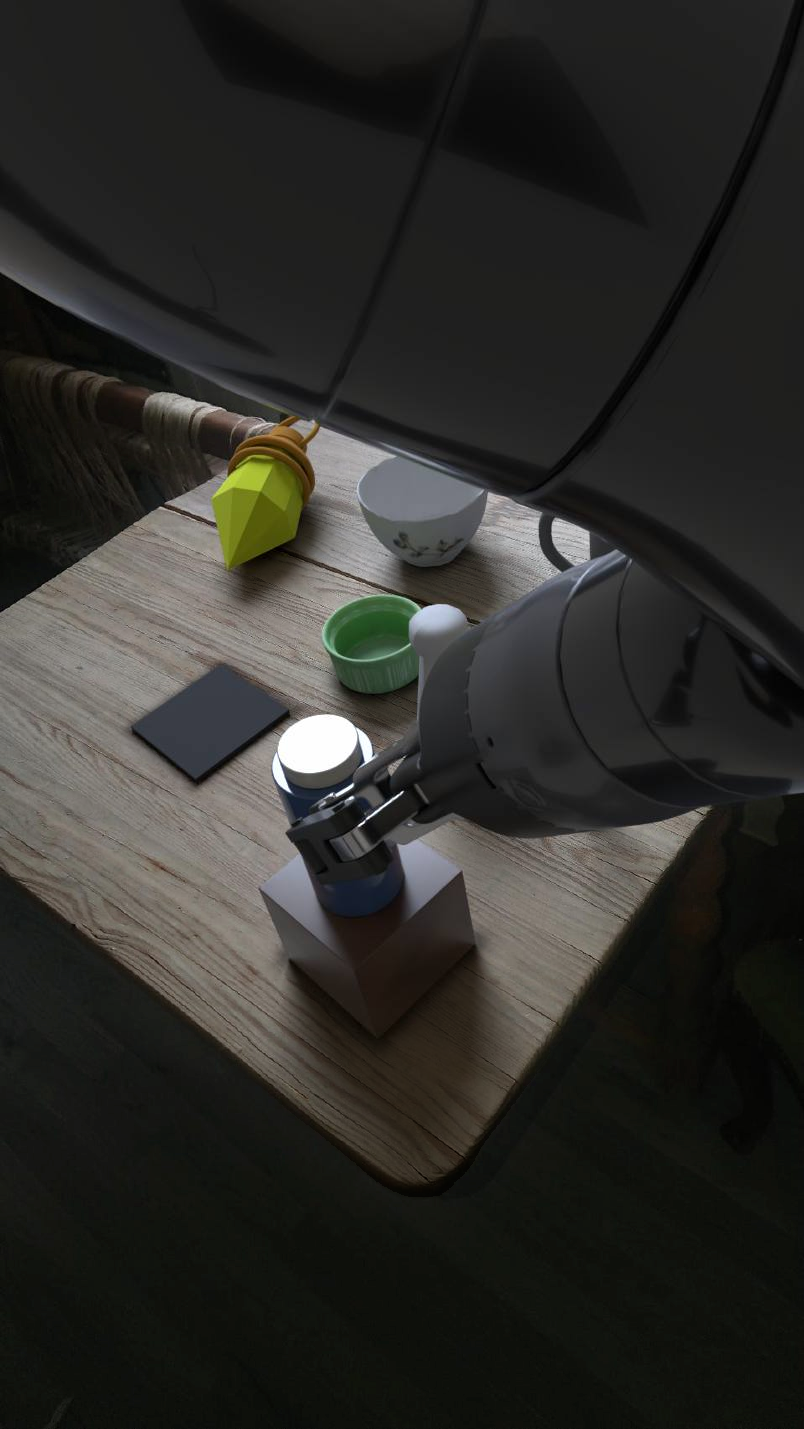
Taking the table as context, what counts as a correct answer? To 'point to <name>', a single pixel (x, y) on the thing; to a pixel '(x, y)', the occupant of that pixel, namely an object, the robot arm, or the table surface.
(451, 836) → the table surface
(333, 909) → the blue cylinder
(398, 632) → the ramekin
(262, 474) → the plumb bob
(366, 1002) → the cube
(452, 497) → the teacup
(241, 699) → the coaster
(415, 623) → the salt shaker
